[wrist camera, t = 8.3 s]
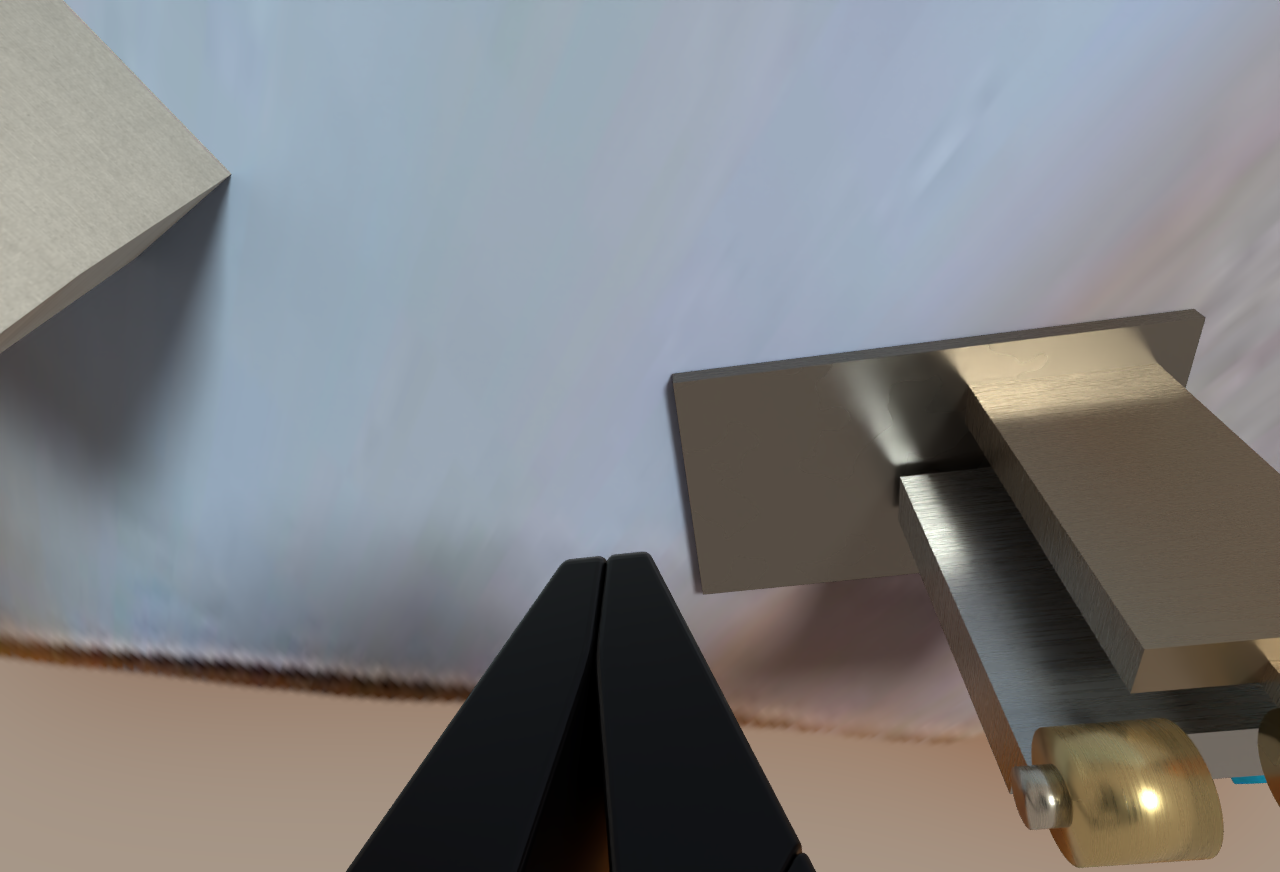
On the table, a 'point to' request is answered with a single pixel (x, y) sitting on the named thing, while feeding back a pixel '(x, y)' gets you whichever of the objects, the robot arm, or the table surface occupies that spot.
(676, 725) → the robot arm
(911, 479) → the brass-capped grey pillar
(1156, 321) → the hinge base
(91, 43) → the tea bag
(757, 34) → the table surface
